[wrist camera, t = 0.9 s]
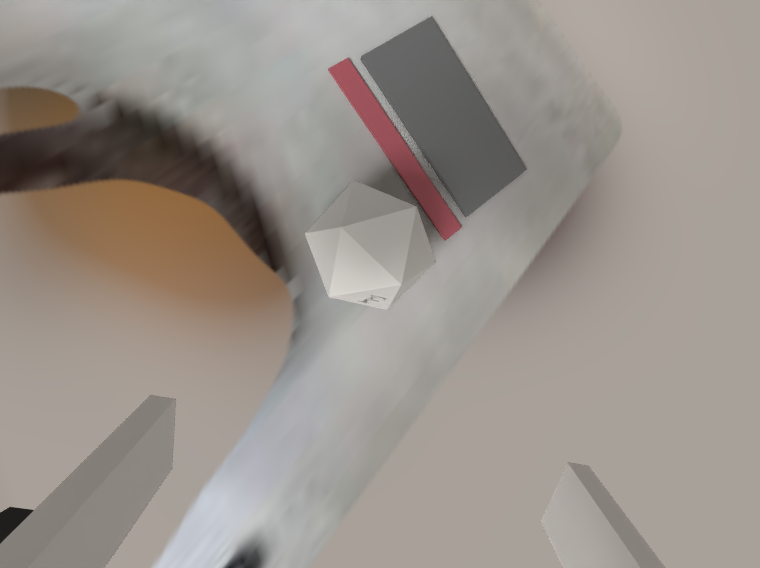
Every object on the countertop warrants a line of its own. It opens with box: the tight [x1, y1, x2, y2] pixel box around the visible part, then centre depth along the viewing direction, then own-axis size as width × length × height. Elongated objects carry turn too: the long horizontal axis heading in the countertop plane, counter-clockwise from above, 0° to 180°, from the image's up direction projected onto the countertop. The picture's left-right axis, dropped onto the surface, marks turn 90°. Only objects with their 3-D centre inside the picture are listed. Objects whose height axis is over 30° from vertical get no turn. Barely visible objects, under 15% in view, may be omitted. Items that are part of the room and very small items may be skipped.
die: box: [305, 180, 436, 310], centre depth 25 cm, size 8×9×10 cm
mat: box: [361, 16, 527, 217], centre depth 31 cm, size 16×8×1 cm, turn 37°
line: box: [329, 58, 461, 240], centre depth 30 cm, size 17×2×1 cm, turn 37°
